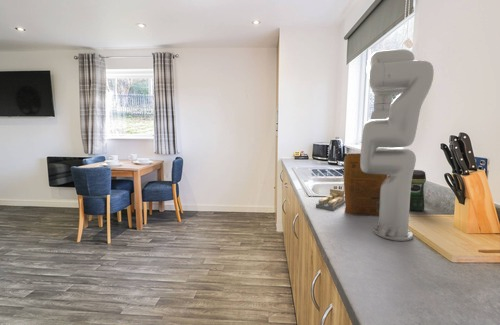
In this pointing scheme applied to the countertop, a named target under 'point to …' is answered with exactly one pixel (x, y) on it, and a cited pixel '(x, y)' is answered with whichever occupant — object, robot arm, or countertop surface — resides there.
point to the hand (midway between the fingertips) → (380, 146)
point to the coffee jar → (417, 191)
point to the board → (331, 206)
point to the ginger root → (334, 200)
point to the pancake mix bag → (361, 188)
